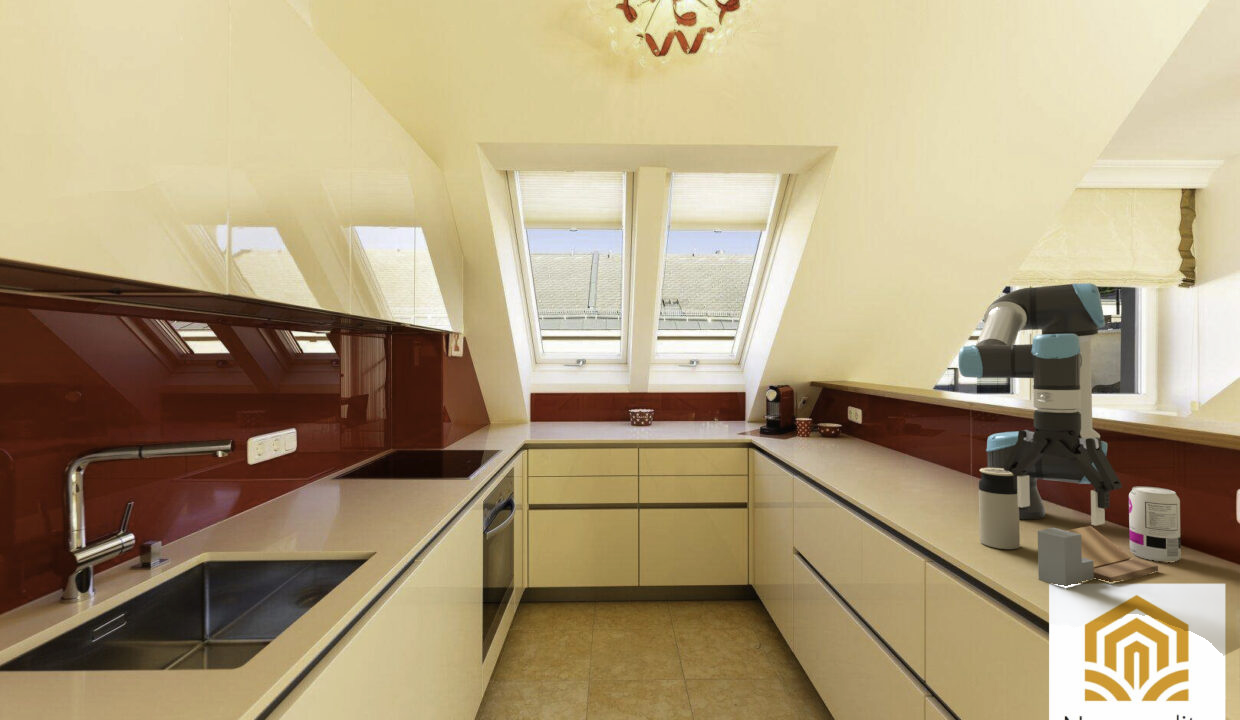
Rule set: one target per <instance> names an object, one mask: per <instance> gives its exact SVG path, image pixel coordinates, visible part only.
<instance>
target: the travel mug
mask: <svg viewBox="0 0 1240 720" xmlns="http://www.w3.org/2000/svg"><path fill="white" fill-rule="evenodd" d="M979 472H980V474H981V477H980V480H979V482H978V510H979V511H978V516H979V519H978V520H979V543H981V544H983V545H985V546H987V547H989V548H992V549H999V550H1008V551H1011V550H1017V549H1019V548H1020V547H1021V542H1020V541H1021V539H1020V538H1021V537H1020V536H1021V535H1020V519H1019V507H1018V496H1017V490H1015V489H1014V476H1013V474H1012V473H1011V472H1009V471H1006V470H1004V469H1002V468H988V467H981V468H980V469H979Z"/></svg>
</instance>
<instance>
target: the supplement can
mask: <svg viewBox="0 0 1240 720" xmlns="http://www.w3.org/2000/svg"><path fill="white" fill-rule="evenodd" d="M1131 489H1132V490H1130V492H1129V494H1128V515H1129V516H1128V520H1129V521H1128V522H1129V524H1128V525H1129V551H1130V552H1131V553H1132V554H1133V555H1134V556H1136V557H1138V558H1142V559H1145V560H1147V559H1148V561H1152V560H1154V561H1153V562H1158V561H1169V562H1170V561H1176V562H1177V561H1179V560H1181V559H1182V557H1181V556H1182V555H1181V554H1182V552H1181V550H1182V549H1181V547H1182V545H1181V499H1180V498H1179V496H1178V495H1177V493H1176V491H1174V490H1171V489H1168V488H1161V487H1154V486H1153V487H1152V486H1133V487H1132V488H1131ZM1170 563H1171V562H1170Z"/></svg>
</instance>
